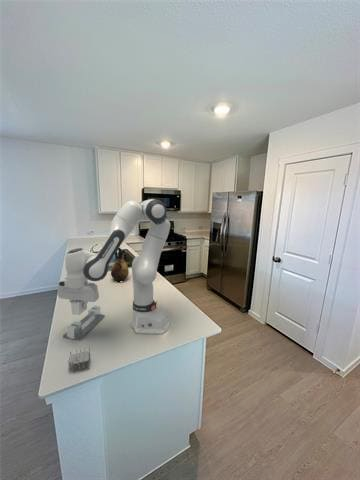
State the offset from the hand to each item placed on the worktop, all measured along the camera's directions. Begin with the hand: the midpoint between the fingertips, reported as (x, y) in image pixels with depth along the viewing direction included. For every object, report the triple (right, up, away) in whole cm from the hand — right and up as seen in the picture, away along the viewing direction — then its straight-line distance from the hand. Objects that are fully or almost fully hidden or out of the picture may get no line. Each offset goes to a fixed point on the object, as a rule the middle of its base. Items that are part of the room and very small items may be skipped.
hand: (79, 307), depth 99 cm
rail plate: (-3, -15, +12) cm, 19 cm away
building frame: (+8, -20, -15) cm, 26 cm away
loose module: (0, -2, 0) cm, 2 cm away
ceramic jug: (-4, -3, +80) cm, 80 cm away
